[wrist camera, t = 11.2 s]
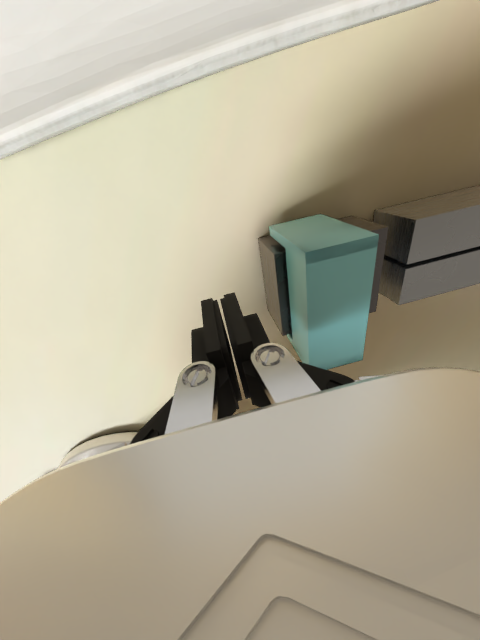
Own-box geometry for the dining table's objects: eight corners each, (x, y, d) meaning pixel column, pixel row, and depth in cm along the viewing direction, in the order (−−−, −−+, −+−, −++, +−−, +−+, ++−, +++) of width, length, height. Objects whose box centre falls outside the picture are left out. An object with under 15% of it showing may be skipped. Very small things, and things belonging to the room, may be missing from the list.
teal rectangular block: (279, 323, 17) (309, 374, 13) (268, 226, 13) (305, 252, 9) (320, 313, 17) (362, 359, 13) (320, 213, 14) (378, 234, 9)
